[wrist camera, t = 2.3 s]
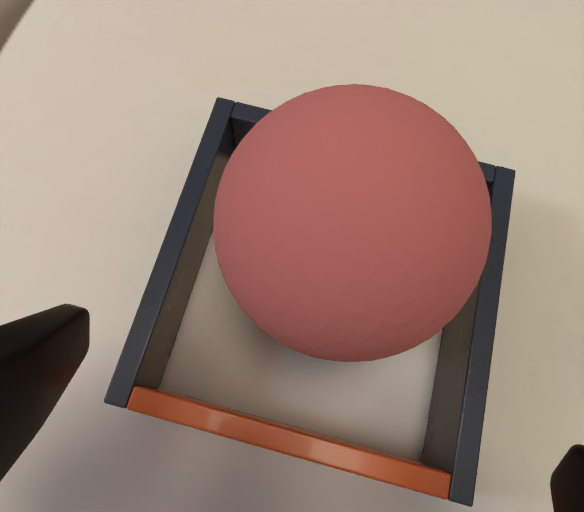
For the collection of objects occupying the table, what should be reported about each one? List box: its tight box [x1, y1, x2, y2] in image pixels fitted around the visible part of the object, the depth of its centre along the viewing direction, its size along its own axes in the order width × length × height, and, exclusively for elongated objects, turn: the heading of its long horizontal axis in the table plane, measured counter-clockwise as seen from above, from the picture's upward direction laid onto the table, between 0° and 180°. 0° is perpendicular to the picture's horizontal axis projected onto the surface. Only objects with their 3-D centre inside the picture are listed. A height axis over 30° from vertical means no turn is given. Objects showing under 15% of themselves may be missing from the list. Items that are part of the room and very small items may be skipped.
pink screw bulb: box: [213, 84, 492, 362], centre depth 15 cm, size 7×7×12 cm
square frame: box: [104, 97, 515, 507], centre depth 19 cm, size 13×13×4 cm
